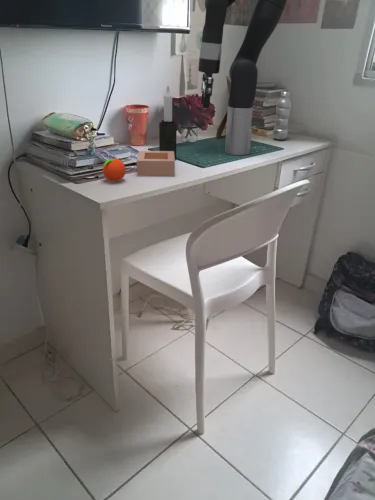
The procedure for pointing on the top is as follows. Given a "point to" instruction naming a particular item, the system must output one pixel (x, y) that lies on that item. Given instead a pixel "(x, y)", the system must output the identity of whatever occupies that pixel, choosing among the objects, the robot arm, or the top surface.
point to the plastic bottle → (282, 116)
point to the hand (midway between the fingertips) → (204, 106)
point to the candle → (167, 126)
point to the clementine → (114, 169)
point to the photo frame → (224, 119)
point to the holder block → (155, 163)
